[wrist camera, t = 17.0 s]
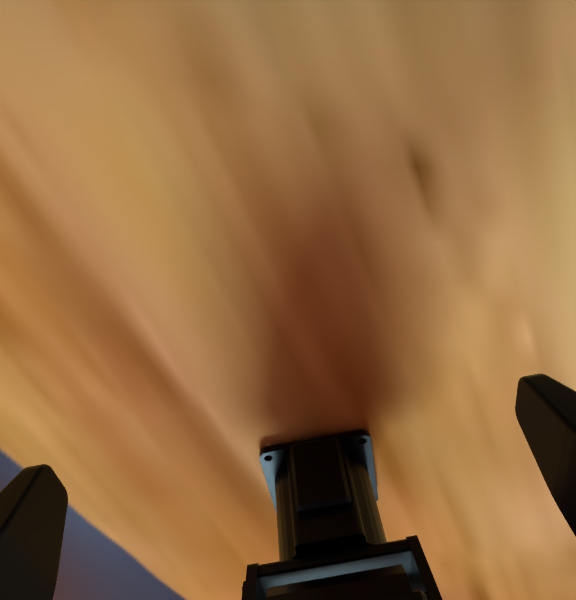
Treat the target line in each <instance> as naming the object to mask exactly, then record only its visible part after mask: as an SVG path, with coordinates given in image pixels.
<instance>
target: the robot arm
mask: <svg viewBox="0 0 576 600" xmlns="http://www.w3.org/2000/svg"><path fill="white" fill-rule="evenodd" d="M515 411H516V416H517V420H518V422H519V424H520V427H521V429H522V431H523V433H524V435H525V438H526V440H527V442H528V444H529V446H530V449H531V451H532V453H533V455H534V458H535V460H536V462H537V464H538V466H539V469H540V471H541V473H542V475H543V477H544V480H545V482H546V484H547V486H548V488H549V490H550V492H551V494H552V496H553V498H554V500H555V502H556V504H557V505H558V507H559V509H560V511H561V512H562V514H563V516H564V518H565V519H566V521H567V523H568V524H569V526H570V528H571V529H572V531H573V533H574V535H575V536H576V391H574V390H572V389H570V388H569V387H567V386H565V385H563V384H562V383H560V382H558V381H556V380H554V379H553V378H551V377H549V376H547V375H545V374H535V375H529V376H524V377H521V378H520V380H519V382H518V388H517V397H516V406H515ZM361 438H362V439H361ZM267 455H269V456H267ZM260 462H261V465H262V468H263V472H264V475H265V478H266V481H267V484H268V488H269V491H270V494H271V497H272V500H273V504H274V507H275V510H276V513H277V526H278V542H279V557H280V561H279V562H273V563H268V564H262V565H259V564H258V563H256V564H251V565H247V574H246V581H244V582H243V587H242V600H442V597H441V595H440V592H439V590H438V587H437V585H436V582H435V580H434V577H433V575H432V572H431V570H430V567H429V565H428V562H427V560H426V557H425V555H424V552H423V550H422V547H421V545H420V542H419V540H418V537H417V535H415V536H409V537H406V539H404V540H398V541H392V542H387V541H386V537H385V533H384V530H383V526H382V522H381V518H380V514H379V511H378V507H377V503H376V501H377V500H378V494H377V485H376V477H375V469H374V460H373V452H372V443H371V438H370V434H369V432H368V431H366V430H357V431H352V432H346V433H341V434H335V435H330V436H324V437H319V438H313V439H308V440H302V441H297V442H291V443H286V444H280V445H275V446H270V447H265V448H263V449H261V450H260ZM67 504H68V495H67V491H66V489H65V487H64V486H63V484H62V483H61V481H60V480H59V478H58V477H57V475H56V474H55V472H54V471H53V470H52V468H51V467H50V466H48V465H46V464H42V465H37V466H31V467H27V468H25V469H23V470H22V471H21V472H20V473H19V474H18V475H17V476H16V477H15V478H14V479H13V480H12V481H11V482H10V483H9V484H8V485H7V486H6V487H5V488H4V489H3V490H2V491H1V492H0V600H52V599H53V594H54V590H55V585H56V580H57V575H58V569H59V561H60V554H61V547H62V540H63V532H64V526H65V518H66V512H67Z"/></svg>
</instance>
